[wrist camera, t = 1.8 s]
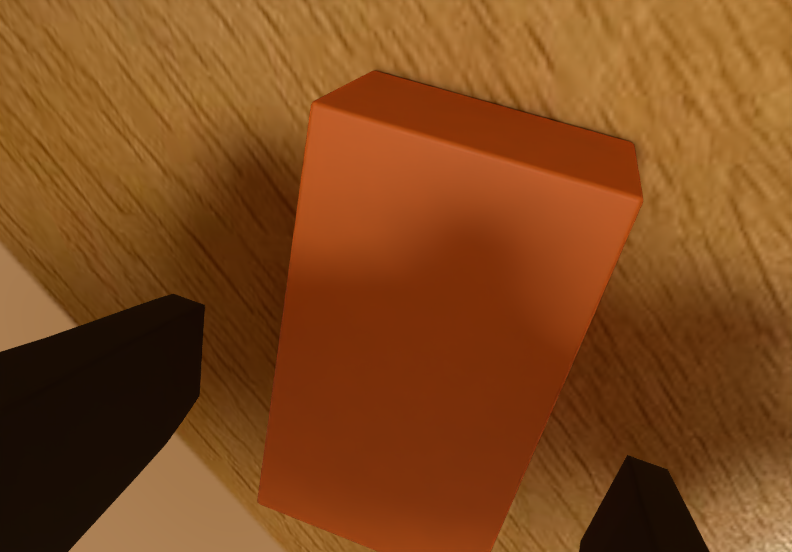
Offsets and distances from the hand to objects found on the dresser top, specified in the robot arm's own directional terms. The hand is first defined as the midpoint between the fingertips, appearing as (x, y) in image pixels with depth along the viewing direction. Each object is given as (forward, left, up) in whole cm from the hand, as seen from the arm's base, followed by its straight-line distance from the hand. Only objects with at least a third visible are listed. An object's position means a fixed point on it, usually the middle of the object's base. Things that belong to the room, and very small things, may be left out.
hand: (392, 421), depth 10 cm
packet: (0, 0, -4) cm, 4 cm away
